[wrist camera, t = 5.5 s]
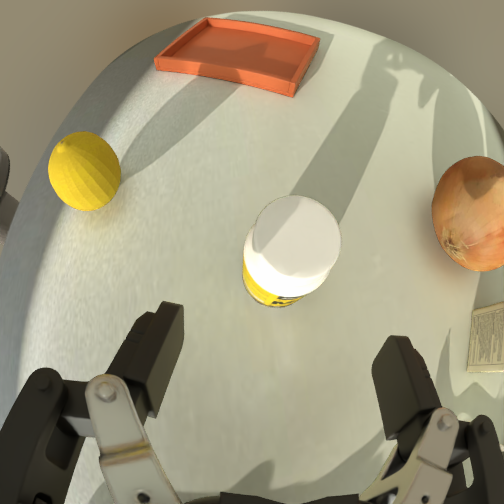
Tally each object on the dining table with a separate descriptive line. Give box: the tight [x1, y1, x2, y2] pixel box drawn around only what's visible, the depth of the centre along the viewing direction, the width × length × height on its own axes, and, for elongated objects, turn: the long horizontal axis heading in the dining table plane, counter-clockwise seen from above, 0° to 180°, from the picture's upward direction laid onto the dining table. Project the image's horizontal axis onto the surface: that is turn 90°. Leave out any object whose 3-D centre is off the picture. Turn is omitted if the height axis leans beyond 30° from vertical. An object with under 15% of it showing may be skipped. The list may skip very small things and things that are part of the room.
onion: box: [432, 156, 504, 271], centre depth 17 cm, size 10×10×10 cm
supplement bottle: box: [243, 195, 342, 308], centre depth 16 cm, size 5×5×8 cm
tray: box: [154, 17, 320, 97], centre depth 27 cm, size 17×13×2 cm
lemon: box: [48, 131, 121, 211], centre depth 17 cm, size 6×6×8 cm
